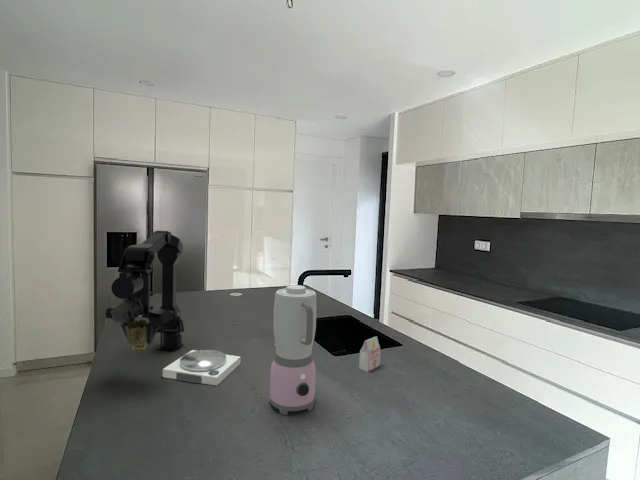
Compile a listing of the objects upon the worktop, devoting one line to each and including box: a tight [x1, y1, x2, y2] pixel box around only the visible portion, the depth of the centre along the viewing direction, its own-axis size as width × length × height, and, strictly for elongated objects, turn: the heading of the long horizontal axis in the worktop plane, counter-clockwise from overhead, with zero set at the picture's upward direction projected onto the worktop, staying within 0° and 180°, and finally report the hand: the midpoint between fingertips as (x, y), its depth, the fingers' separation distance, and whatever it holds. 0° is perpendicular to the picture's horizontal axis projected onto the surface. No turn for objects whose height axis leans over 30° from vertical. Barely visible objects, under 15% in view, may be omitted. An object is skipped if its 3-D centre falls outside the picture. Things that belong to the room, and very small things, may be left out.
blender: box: [269, 284, 317, 416], centre depth 98 cm, size 16×12×32 cm
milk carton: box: [358, 336, 382, 373], centre depth 125 cm, size 4×7×10 cm, turn 136°
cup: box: [125, 318, 149, 352], centre depth 108 cm, size 8×7×8 cm
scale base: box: [162, 349, 242, 386], centre depth 118 cm, size 18×16×3 cm
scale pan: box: [180, 349, 227, 371], centre depth 118 cm, size 14×14×1 cm
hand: (139, 342), depth 108 cm, fingers closed on cup, 6 cm apart
